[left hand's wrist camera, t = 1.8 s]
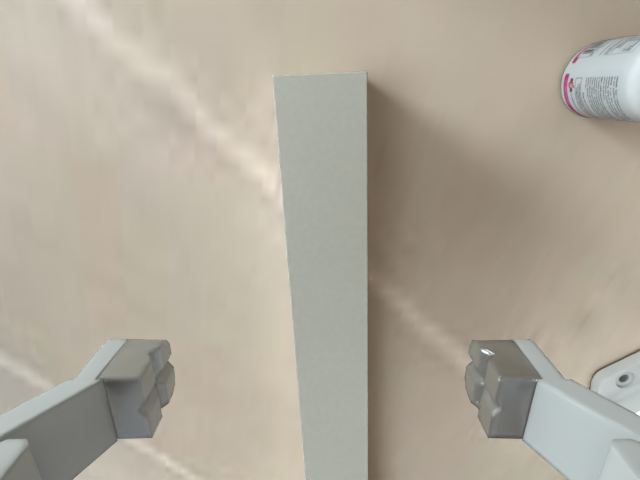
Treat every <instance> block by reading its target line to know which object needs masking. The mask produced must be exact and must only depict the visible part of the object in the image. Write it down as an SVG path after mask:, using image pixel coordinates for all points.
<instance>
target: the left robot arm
mask: <svg viewBox="0 0 640 480" xmlns="http://www.w3.org/2000/svg"><path fill="white" fill-rule="evenodd" d="M170 355H171V349H170V344H169V342H168V341H167V340H144V339H130V340H129V339H111V340H108V341H106V342H105V344H104V345H103V346H102V347H101V348H100V350H99V351H98V352H97V353H96V354H95V356H94V357H93V358H92V359H91V360H90V362H89V363H88V364H87V365H86V366H85V368H84V369H83V370H82V371H81V372H80V373H79V375H78V376H77V377H76V378H75V379H68V380H67V381H65V382H63V383H61V384H59V385H57V386H55V387H53V388H51V389H49V390H47V391H46V392H44V393H42V394H40V395H38V396H36V397H34V398H32V399H30V400H28V401H27V402H25V403H23V404H21V405H19V406H17V407H15V408H13V409H11V410H9V411H7V412H6V413H4V414H2V415H0V480H72V479H74V478H75V477H76V476H77V475H78V474H79V473H81V472H82V471H83V470H84V469H85V468H86V467H88V466H89V465H90V464H91V463H92V462H93V461H94V460H96V459H97V458H98V457H99V456H100V455H101V454H103V453H104V452H105V451H106V450H107V449H108V448H110V447H111V446H112V445H113V444H114V443H115V442H116V441H117V439H127V438H152V437H153V435H154V433H155V431H156V429H157V427H158V424H159V422H160V420H161V418H162V412H161V408H163V407H164V406H165V405H167V404H168V403H169V401H170V399H171V397H172V394H173V390H174V385H175V372H174V367H173V366H172V365H171V364H170V363H169V362H168V359H169V357H170ZM469 355H470V357H471V359H472V362H471V363H470V364H469V365H468V366H467V367H466V373H465V384H466V390H467V394H468V397H469V399H470V401H471V403H472V404H473V405H475V406H476V407H477V408H479V412H478V418H479V420H480V422H481V424H482V426H483V429H484V431H485V433H486V435H487V437H488V438H512V439H523V441H524V442H525V443H526V444H527V445H528V446H530V447H531V448H532V449H533V450H534V451H535V452H536V453H538V454H539V455H540V456H541V457H542V458H543V459H545V460H546V461H547V462H548V463H549V464H550V465H551V466H553V467H554V468H555V469H556V470H557V471H558V472H560V473H561V474H562V475H563V476H564V477H565V478H567V479H568V480H640V415H638V414H636V413H634V412H632V411H630V410H629V409H627V408H625V407H623V406H621V405H619V404H617V403H615V402H613V401H611V400H610V399H608V398H606V397H604V396H602V395H600V394H598V393H596V392H594V391H592V390H591V389H589V388H587V387H585V386H583V385H581V384H579V383H577V382H575V381H573V380H572V379H565V378H564V377H563V376H562V375H561V373H560V372H559V371H558V370H557V369H556V368H555V366H554V365H553V364H552V363H551V362H550V360H549V359H548V358H547V357H546V356H545V354H544V353H543V352H542V351H541V350H540V348H539V347H538V346H537V345H536V344H535V342H534V341H532V340H530V339H510V340H472V342H471V344H470V348H469Z"/></svg>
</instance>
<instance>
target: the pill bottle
mask: <svg viewBox="0 0 640 480" xmlns="http://www.w3.org/2000/svg"><path fill="white" fill-rule="evenodd" d="M561 93H562V98H563V100H564V102H565V104H566V106H567V107H568V108H569V109H570V110H571V111H573V112H574V113H576V114H578V115H580V116H584V117H592V118H600V119H611V120H621V121H630V122H640V35H635V36H629V37H622V38H616V39H610V40H604V41H600V42H596V43H593V44H591V45H589V46H587V47H585V48H583V49H582V50H581V51H579V52H578V53H577V54H576V55H575V56H574V57H573V59H572V60H571V61H570V63H569V64H568V66H567V68H566V70H565V72H564V74H563V78H562V83H561Z"/></svg>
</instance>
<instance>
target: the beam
mask: <svg viewBox="0 0 640 480" xmlns="http://www.w3.org/2000/svg"><path fill="white" fill-rule="evenodd" d="M273 89H274V102H275V114H276V126H277V138H278V150H279V162H280V175H281V187H282V199H283V211H284V223H285V235H286V248H287V260H288V272H289V284H290V296H291V308H292V320H293V333H294V345H295V357H296V369H297V381H298V393H299V406H300V418H301V430H302V442H303V454H304V466H305V478H306V480H368V217H367V71H359V72H339V73H318V74H298V75H277V76H273Z"/></svg>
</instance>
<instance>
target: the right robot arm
mask: <svg viewBox="0 0 640 480" xmlns="http://www.w3.org/2000/svg"><path fill="white" fill-rule="evenodd" d="M590 389H591V390H592V391H594V392H596V393H598V394H600V395H602V396H604V397H606V398H608V399H610V400H611V401H613V402H615V403H617V404H619V405H621V406H623V407H625V408H627V409H629V410H630V411H632V412H634V413H636V414H638V415H640V351H639V352H637V353H635V354H632V355H630V356H628V357H626V358H624V359H622V360H620V361H618V362H616V363H614V364H612V365H610V366H608V367H605V368H603V369H601V370H600V371H598V372H597V373H596V374H595V375H594V377H593V379H592V382H591V387H590Z"/></svg>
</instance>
